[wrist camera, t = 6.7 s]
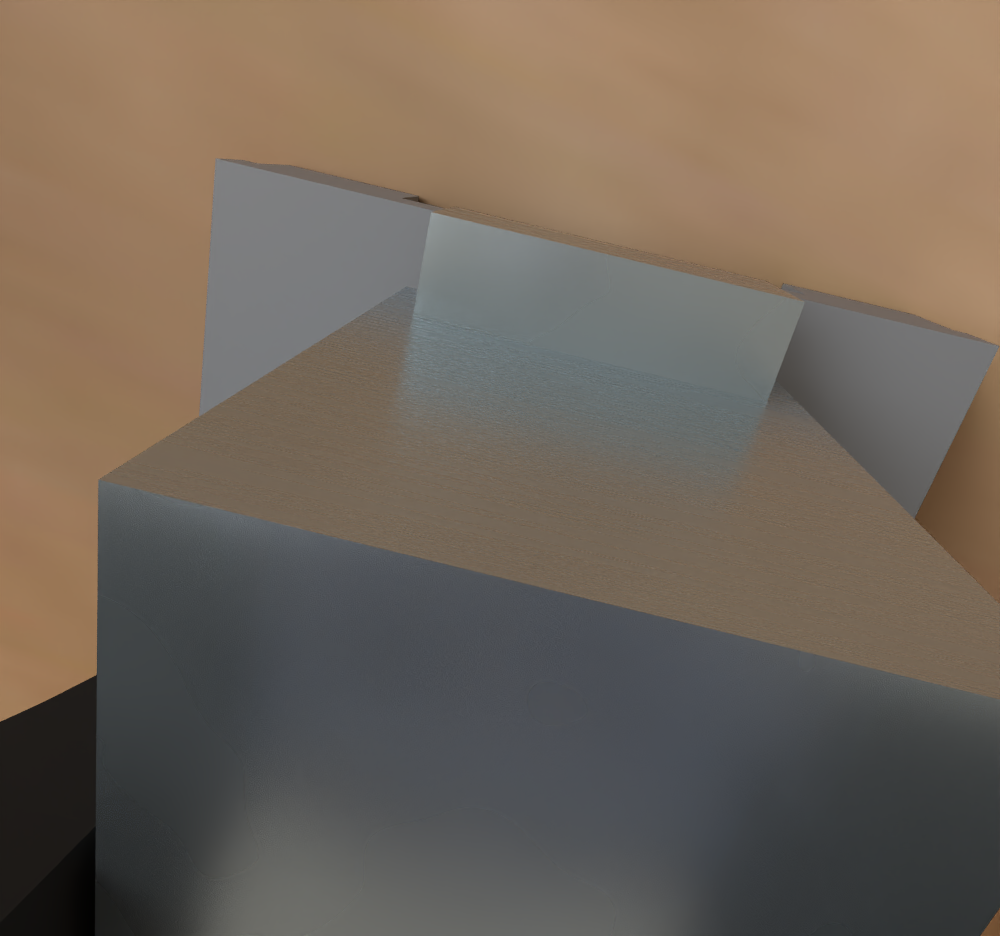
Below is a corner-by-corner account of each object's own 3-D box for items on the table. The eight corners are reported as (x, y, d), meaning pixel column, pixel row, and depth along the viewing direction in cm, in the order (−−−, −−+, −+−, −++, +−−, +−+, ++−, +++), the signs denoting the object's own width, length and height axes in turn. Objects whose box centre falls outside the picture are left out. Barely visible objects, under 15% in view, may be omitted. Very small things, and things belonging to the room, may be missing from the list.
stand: (709, 804, 15) (729, 895, 13) (227, 686, 15) (177, 758, 13) (926, 317, 11) (999, 345, 9) (276, 161, 11) (216, 157, 9)
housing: (574, 893, 12) (573, 1511, 6) (315, 829, 12) (91, 1387, 6) (800, 290, 8) (1273, 520, 3) (421, 199, 8) (102, 236, 3)
